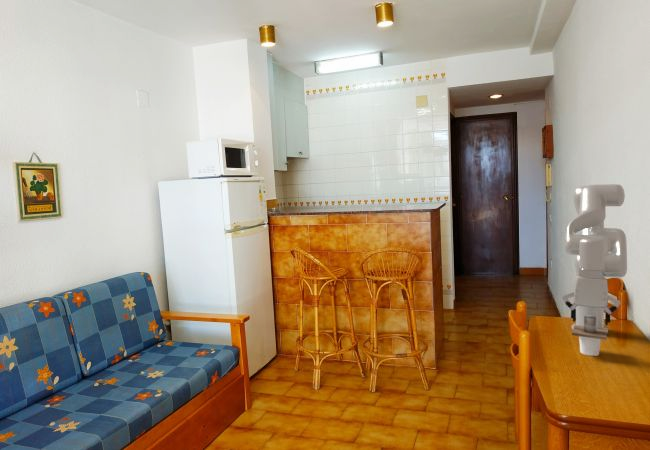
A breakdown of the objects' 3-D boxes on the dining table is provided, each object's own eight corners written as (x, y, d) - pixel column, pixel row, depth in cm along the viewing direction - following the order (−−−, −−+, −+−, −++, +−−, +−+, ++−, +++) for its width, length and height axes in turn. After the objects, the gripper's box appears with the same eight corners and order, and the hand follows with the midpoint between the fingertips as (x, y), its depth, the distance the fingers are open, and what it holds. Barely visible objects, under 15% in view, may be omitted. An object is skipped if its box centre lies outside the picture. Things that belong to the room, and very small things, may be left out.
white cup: (604, 357, 155) (604, 336, 154) (582, 356, 156) (582, 336, 155) (596, 349, 161) (596, 330, 161) (575, 348, 163) (575, 329, 162)
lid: (574, 327, 165) (574, 311, 164) (606, 331, 160) (607, 315, 159) (572, 335, 157) (572, 318, 156) (606, 339, 151) (606, 322, 151)
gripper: (621, 273, 155) (619, 323, 156) (563, 270, 164) (563, 316, 165) (621, 277, 148) (620, 329, 150) (561, 273, 158) (561, 321, 159)
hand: (590, 322), depth 158 cm, fingers open, 9 cm apart
